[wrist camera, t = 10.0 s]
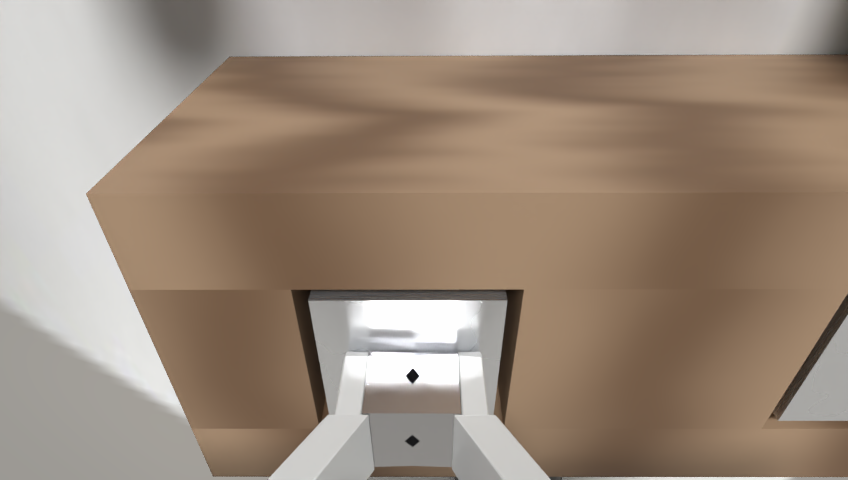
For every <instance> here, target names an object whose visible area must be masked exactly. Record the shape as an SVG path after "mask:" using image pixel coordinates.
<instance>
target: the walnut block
mask: <svg viewBox="0 0 848 480" xmlns="http://www.w3.org/2000/svg"><path fill="white" fill-rule="evenodd" d="M86 195H87V197H88V199H89V202H90V204H91V206H92V208H93V210H94V213H95V215H96V217H97V219H98V222H99V224H100V226H101V228H102V230H103V233H104V235H105V237H106V239H107V242H108V244H109V246H110V248H111V250H112V253H113V255H114V257H115V259H116V262H117V264H118V266H119V268H120V270H121V273H122V275H123V277H124V279H125V282H126V284H127V286H128V288H129V290H130V293H131V295H132V297H133V299H134V302H135V304H136V306H137V308H138V310H139V313H140V315H141V317H142V319H143V322H144V324H145V326H146V328H147V330H148V333H149V335H150V337H151V339H152V342H153V344H154V346H155V348H156V350H157V353H158V355H159V357H160V359H161V362H162V364H163V366H164V368H165V370H166V373H167V375H168V377H169V379H170V382H171V384H172V386H173V388H174V390H175V393H176V395H177V397H178V399H179V402H180V404H181V406H182V408H183V410H184V413H185V415H186V417H187V419H188V422H189V424H190V426H191V428H192V430H193V433H194V435H195V437H196V439H197V441H198V444H199V446H200V448H201V451H202V453H203V455H204V457H205V459H206V461H207V464H208V466H209V468H210V471H211V472H212V475H213V476H263V477H270V476H271V475H272V474H273V473H274V472H275V471H276V470H277V469H278V468H279V467H280V465H281V464H282V463H283V462H284V461H285V460H286V459H287V458H288V457H289V456H290V455H291V454H292V453H293V451H294V450H295V449H296V448H297V447H298V446H299V445H300V444H301V443H302V442H303V441H304V440H305V438H306V437H307V436H308V435H309V434H310V433H311V432H312V431H313V430H314V429H315V428H316V427H317V425H318V424H319V423H320V422H321V421H322V420H323V419H324V418H325V417H326V416H327V415H329V412H328V406H327V401H326V395H325V390H324V384H323V379H322V373H321V368H320V362H319V357H318V352H317V346H316V341H315V335H314V330H313V324H312V319H311V313H310V308H309V302H308V300H309V296H310V292H311V290H475V289H505V290H506V295H507V308H506V317H505V325H504V333H503V341H502V349H501V358H500V366H499V374H498V382H497V391H496V399H495V407H494V415H496V416H497V417H498V418H499V419H500V421H501V422H502V423H503V424H504V425H505V426H506V428H507V429H508V430H509V431H510V432H511V434H512V435H513V436H514V437H515V438H516V439H517V441H518V442H519V443H520V444H521V445H522V446H523V448H524V449H525V450H526V451H527V452H528V453H529V455H530V456H531V457H532V458H533V459H534V461H535V462H536V463H537V464H538V465H539V466H540V468H541V469H542V470H543V471H544V472H545V473H546V475H547V476H548V477H848V421H778V420H777V418H776V417H775V415H774V414H773V410H774V409H775V407H776V406H777V404H778V402H779V401H780V399H781V398H782V396H783V394H784V393H785V391H786V390H787V388H788V387H789V385H790V383H791V382H792V380H793V379H794V377H795V376H796V374H797V372H798V371H799V369H800V368H801V366H802V365H803V363H804V361H805V360H806V358H807V357H808V355H809V354H810V352H811V350H812V349H813V347H814V346H815V344H816V343H817V341H818V339H819V338H820V336H821V335H822V333H823V332H824V330H825V328H826V327H827V325H828V324H829V322H830V321H831V319H832V317H833V316H834V314H835V313H836V311H837V310H838V308H839V306H840V305H841V303H842V302H843V300H844V299H845V297H846V295H847V294H848V55H579V56H300V57H229V58H228V59H227V60H226V61H225V62H224V63H222V64H221V65H220V66H219V67H218V68H217V69H216V70H215V71H214V72H213V73H212V74H211V75H210V76H209V77H208V78H207V79H206V80H205V81H204V82H203V83H202V84H200V85H199V86H198V87H197V88H196V89H195V90H194V91H193V92H192V93H191V94H190V95H189V96H188V97H187V98H186V99H185V100H184V101H183V102H182V103H181V104H180V105H178V106H177V107H176V108H175V109H174V110H173V111H172V112H171V113H170V114H169V115H168V116H167V117H166V118H165V119H164V120H163V121H162V122H161V123H160V124H159V125H158V126H157V127H155V128H154V129H153V130H152V131H151V132H150V133H149V134H148V135H147V136H146V137H145V138H144V139H143V140H142V141H141V142H140V143H139V144H138V145H137V146H136V147H135V148H133V149H132V150H131V151H130V152H129V153H128V154H127V155H126V156H125V157H124V158H123V159H122V160H121V161H120V162H119V163H118V164H117V165H116V166H115V167H114V168H113V169H111V170H110V171H109V172H108V173H107V174H106V175H105V176H104V177H103V178H102V179H101V180H100V181H99V182H98V183H97V184H96V185H95V186H94V187H93V188H92V189H91V190H90V191H88V192H87V193H86ZM370 477H456V475H455V473H454V472H453V470H452V467H432V466H390V467H374V471H373V472H372V474H371V475H370Z"/></svg>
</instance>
